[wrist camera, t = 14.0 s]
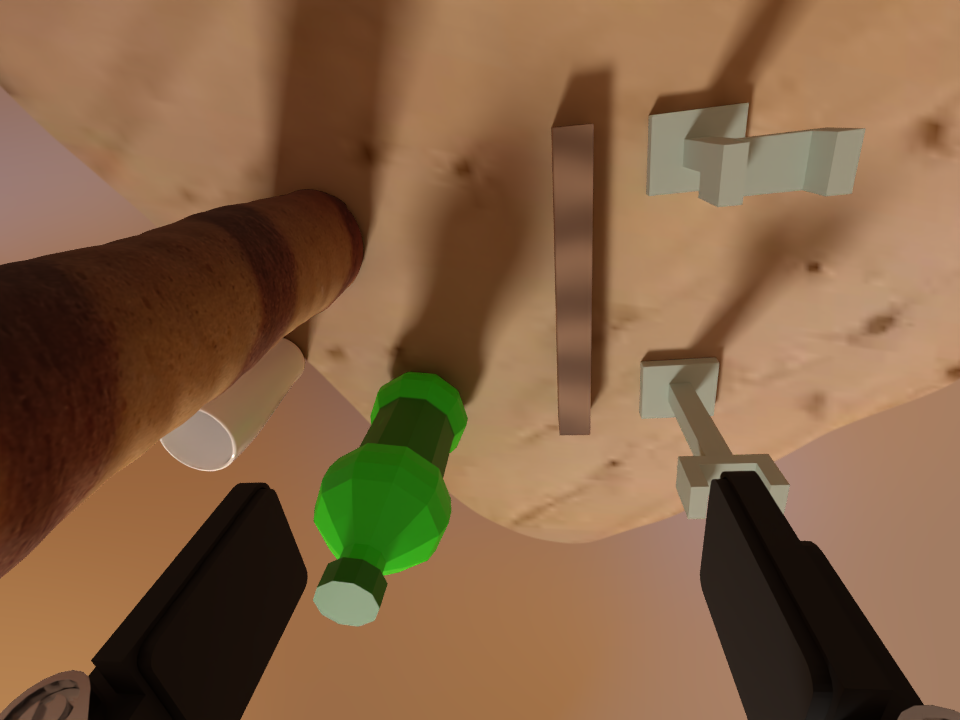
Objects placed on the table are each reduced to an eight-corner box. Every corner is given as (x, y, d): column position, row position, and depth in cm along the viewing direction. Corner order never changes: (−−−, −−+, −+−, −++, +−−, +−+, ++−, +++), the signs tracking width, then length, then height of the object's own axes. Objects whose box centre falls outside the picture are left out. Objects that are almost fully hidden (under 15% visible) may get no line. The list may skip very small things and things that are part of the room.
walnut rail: (551, 127, 39) (552, 128, 36) (588, 123, 39) (593, 123, 35) (558, 413, 52) (559, 435, 48) (586, 413, 51) (590, 434, 48)
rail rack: (648, 115, 38) (720, 112, 23) (742, 103, 37) (880, 92, 22) (639, 412, 50) (682, 534, 35) (709, 409, 49) (784, 533, 34)
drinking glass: (305, 327, 50) (221, 403, 36) (319, 384, 53) (246, 473, 39) (245, 329, 51) (141, 403, 37) (262, 384, 54) (171, 472, 40)
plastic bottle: (456, 346, 49) (390, 534, 27) (483, 429, 53) (446, 651, 31) (367, 365, 51) (238, 554, 29) (400, 444, 55) (310, 661, 33)
